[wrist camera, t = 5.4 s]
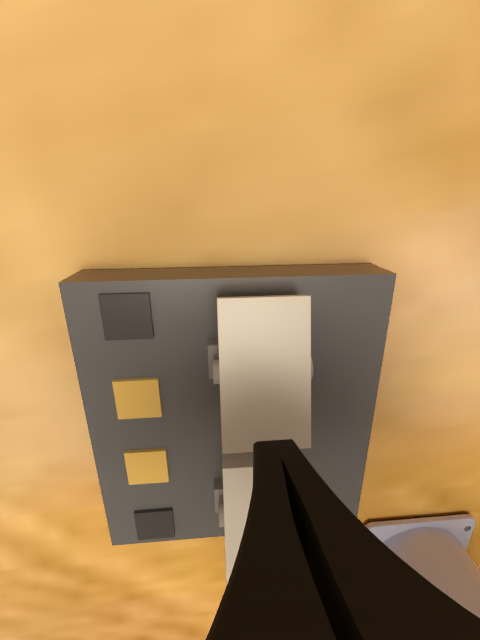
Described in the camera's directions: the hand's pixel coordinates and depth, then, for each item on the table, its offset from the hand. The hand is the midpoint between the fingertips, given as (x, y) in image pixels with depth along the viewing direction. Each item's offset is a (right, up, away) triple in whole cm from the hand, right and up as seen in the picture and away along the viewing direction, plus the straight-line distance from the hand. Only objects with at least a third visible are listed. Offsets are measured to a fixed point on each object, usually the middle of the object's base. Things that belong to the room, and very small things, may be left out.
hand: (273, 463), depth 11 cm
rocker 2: (0, +3, +2) cm, 4 cm away
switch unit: (-2, +1, +7) cm, 7 cm away
